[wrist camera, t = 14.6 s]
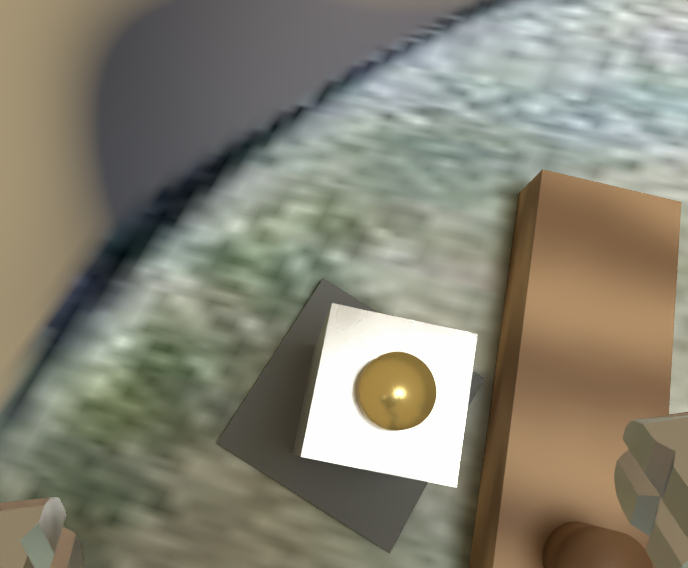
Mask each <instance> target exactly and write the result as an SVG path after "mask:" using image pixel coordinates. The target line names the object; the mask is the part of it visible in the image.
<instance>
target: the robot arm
mask: <svg viewBox="0 0 688 568" xmlns="http://www.w3.org/2000/svg"><path fill="white" fill-rule="evenodd" d="M622 439H623V441H624V442H625V444H626V445H627V447H628V448H629V449H628V450H627V451H626V452H625V453H624V454H623V455H622V456H621V457H620V458H619V459H618V460H617V462H616V467H615V472H614V481H615V489H616V495H617V498H618V500H619V503H620V506H621V508H622V510H623V512H624V514H625V516H626V517H627V519H628V521H629V523H630V524H631V525H633V526H634V527H636V528H637V529H639V530H640V531H642V532H643V533H645V534H646V535H648V541H647V548H646V552H647V554H648V555H649V557H650V559H651V561H652V562H653V564H654V566H655V567H656V568H688V412H683V413H677V414H670V415H663V416H656V417H649V418H642V419H635V420H631V421H630V422H629V424H628V425H627V426H626V427H625V431H624V435H623V438H622ZM66 514H67V512H66V510H65V509H64V507H63V505H62V503H61V501H60V499H59V498H53V497H50V498H41V499H32V500H22V501H13V502H3V503H0V568H84V557H83V552H82V547H81V543H80V541H79V539H78V536H77V534H76V533H75V532H73V531H71V530H69V529H67V528H65V527H64V526H63V524H64V521H65V518H66Z"/></svg>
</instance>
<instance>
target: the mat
mask: <svg viewBox="0 0 688 568" xmlns="http://www.w3.org/2000/svg"><path fill="white" fill-rule="evenodd" d="M332 303H334V304H339V305H343V306H348V307H353V308H358V309H362V310H367V311H372V312H376V313H378V312H377V311H375V310H373V309H372V308H370V307H368V306H367V305H365V304H364V303H362V302H360V301H359V300H357V299H356V298H354V297H352V296H351V295H349V294H347V293H346V292H344V291H343V290H341V289H339V288H338V287H336V286H335V285H333V284H331V283H330V282H328V281H326V280H325V279H322V281H321V282H320V284H319V285H318V287H317V288H316V290H315V292H314V293H313V295H312V296H311V298H310V299H309V301H308V302H307V304H306V305H305V307H304V309H303V310H302V312H301V313H300V315H299V316H298V318H297V319H296V321H295V322H294V324H293V326H292V327H291V329H290V330H289V332H288V333H287V335H286V336H285V338H284V339H283V341H282V343H281V344H280V346H279V347H278V349H277V350H276V352H275V353H274V355H273V356H272V358H271V360H270V361H269V363H268V364H267V366H266V367H265V369H264V370H263V372H262V373H261V375H260V377H259V378H258V380H257V381H256V383H255V384H254V386H253V387H252V389H251V391H250V392H249V394H248V395H247V397H246V398H245V400H244V401H243V403H242V404H241V406H240V408H239V409H238V411H237V412H236V414H235V415H234V417H233V418H232V420H231V421H230V423H229V425H228V426H227V428H226V429H225V431H224V432H223V434H222V435H221V437H220V438H219V440H218V442H217V444H218V445H220V446H221V447H223V448H225V449H226V450H228V451H229V452H231V453H232V454H234V455H236V456H237V457H239V458H240V459H242V460H243V461H245V462H247V463H248V464H250V465H251V466H253V467H254V468H256V469H258V470H259V471H261V472H262V473H264V474H265V475H267V476H269V477H270V478H272V479H273V480H275V481H276V482H278V483H280V484H281V485H283V486H284V487H286V488H287V489H289V490H291V491H292V492H294V493H295V494H297V495H298V496H300V497H302V498H303V499H305V500H306V501H308V502H309V503H311V504H313V505H314V506H316V507H317V508H319V509H320V510H322V511H324V512H325V513H327V514H328V515H330V516H331V517H333V518H335V519H336V520H338V521H339V522H341V523H342V524H344V525H346V526H347V527H349V528H350V529H352V530H353V531H355V532H357V533H358V534H360V535H361V536H363V537H364V538H366V539H368V540H369V541H371V542H372V543H374V544H376V545H377V546H379V547H380V548H382V549H383V550H385V551H387V552H388V553H390V552H391V550H392V548H393V546H394V544H395V542H396V541H397V539H398V537H399V535H400V533H401V531H402V529H403V527H404V526H405V524H406V522H407V520H408V518H409V516H410V514H411V513H412V511H413V509H414V507H415V505H416V503H417V501H418V500H419V498H420V496H421V494H422V492H423V490H424V488H425V486H426V485H427V483H428V482H426V481H421V480H416V479H411V478H406V477H401V476H396V475H391V474H386V473H381V472H376V471H370V470H365V469H360V468H355V467H350V466H345V465H340V464H335V463H330V462H325V461H320V460H315V459H310V458H305V457H300V456H298V455H295V454H292V453H293V448H294V443H295V438H296V433H297V429H298V424H299V419H300V414H301V409H302V404H303V400H304V395H305V390H306V385H307V380H308V375H309V370H310V366H311V361H312V356H313V351H314V346H315V343H316V341H317V338H318V336H319V333H320V331H321V329H322V326H323V324H324V321H325V319H326V316H327V314H328V312H329V309H330V307H331V304H332ZM482 380H483V377H481V376H480V375H478V374H477V373H475V372H473V371H472V378H471V385H470V393H469V400H468V406H469V404H470V403H471V401H472V399H473V397H474V395H475V393H476V391H477V389H478V388H479V386H480V384H481V382H482ZM467 408H468V407H467Z"/></svg>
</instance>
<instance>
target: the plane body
mask: <svg viewBox="0 0 688 568" xmlns="http://www.w3.org/2000/svg"><path fill="white" fill-rule="evenodd" d="M680 215H681V202H679V201H675V200H670V199H666V198H662V197H658V196H653V195H649V194H645V193H641V192H636V191H632V190H628V189H624V188H619V187H615V186H611V185H607V184H602V183H598V182H594V181H590V180H585V179H581V178H577V177H573V176H568V175H564V174H560V173H556V172H551V171H547V170H543V169H542V171H541V172H540V173H539V174H538V175H537V176H536V177H535V178H534V179H533V180H532V181H531V182H530V183H529V184H528V185H527V186H526V187H525V188H524V189H523V190H522V191H521V192H520V193H519V198H518V206H517V213H516V221H515V228H514V236H513V243H512V251H511V258H510V265H509V273H508V280H507V288H506V295H505V303H504V310H503V318H502V325H501V333H500V340H499V347H498V355H497V362H496V370H495V377H494V385H493V392H492V400H491V407H490V415H489V422H488V430H487V437H486V444H485V452H484V459H483V467H482V474H481V482H480V489H479V497H478V504H477V512H476V519H475V526H474V534H473V541H472V549H471V556H470V564H469V568H656V567H655V566H654V564H653V562H652V561H651V559H650V557H649V555H648V554H647V552H646V548H647V541H648V535H646V534H645V533H643V532H642V531H640V530H639V529H637V528H636V527H634V526H633V525H631V524H630V523H629V521H628V519H627V517H626V516H625V514H624V512H623V510H622V508H621V506H620V503H619V500H618V498H617V495H616V489H615V481H614V472H615V467H616V462H617V460H618V459H619V458H620V457H621V456H622V455H623V454H624V453H625V452H626V451H627V450H628V449H629V448H628V447H627V445H626V444H625V442H624V441H623V439H622V438H623V435H624V431H625V427H626V426H627V425H628V424H629V422H630V421H631V420H635V419H642V418H649V417H656V416H663V415H669V399H670V382H671V365H672V348H673V332H674V315H675V298H676V282H677V265H678V248H679V231H680Z"/></svg>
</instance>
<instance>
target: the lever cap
mask: <svg viewBox="0 0 688 568" xmlns="http://www.w3.org/2000/svg"><path fill="white" fill-rule="evenodd" d="M477 335H478V334H475V333H470V332H466V331H461V330H456V329H451V328H447V327H442V326H437V325H433V324H428V323H423V322H419V321H414V320H409V319H404V318H400V317H395V316H390V315H386V314H381V313H376V312H372V311H367V310H362V309H358V308H353V307H348V306H343V305H339V304H334V303H332V304H331V307H330V309H329V312H328V314H327V316H326V319H325V321H324V324H323V326H322V329H321V331H320V333H319V336H318V338H317V341H316V343H315V346H314V351H313V356H312V361H311V366H310V370H309V375H308V380H307V385H306V390H305V395H304V400H303V404H302V409H301V414H300V419H299V424H298V429H297V433H296V438H295V443H294V448H293V453H292V454H295V455H298V456H300V457H305V458H310V459H315V460H320V461H325V462H330V463H335V464H340V465H345V466H350V467H355V468H360V469H365V470H370V471H376V472H381V473H386V474H391V475H396V476H401V477H406V478H411V479H416V480H421V481H426V482H431V483H436V484H441V485H446V486H451V487H457V480H458V473H459V465H460V458H461V451H462V444H463V436H464V429H465V422H466V415H467V407H468V400H469V393H470V385H471V378H472V371H473V364H474V356H475V349H476V342H477Z"/></svg>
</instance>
